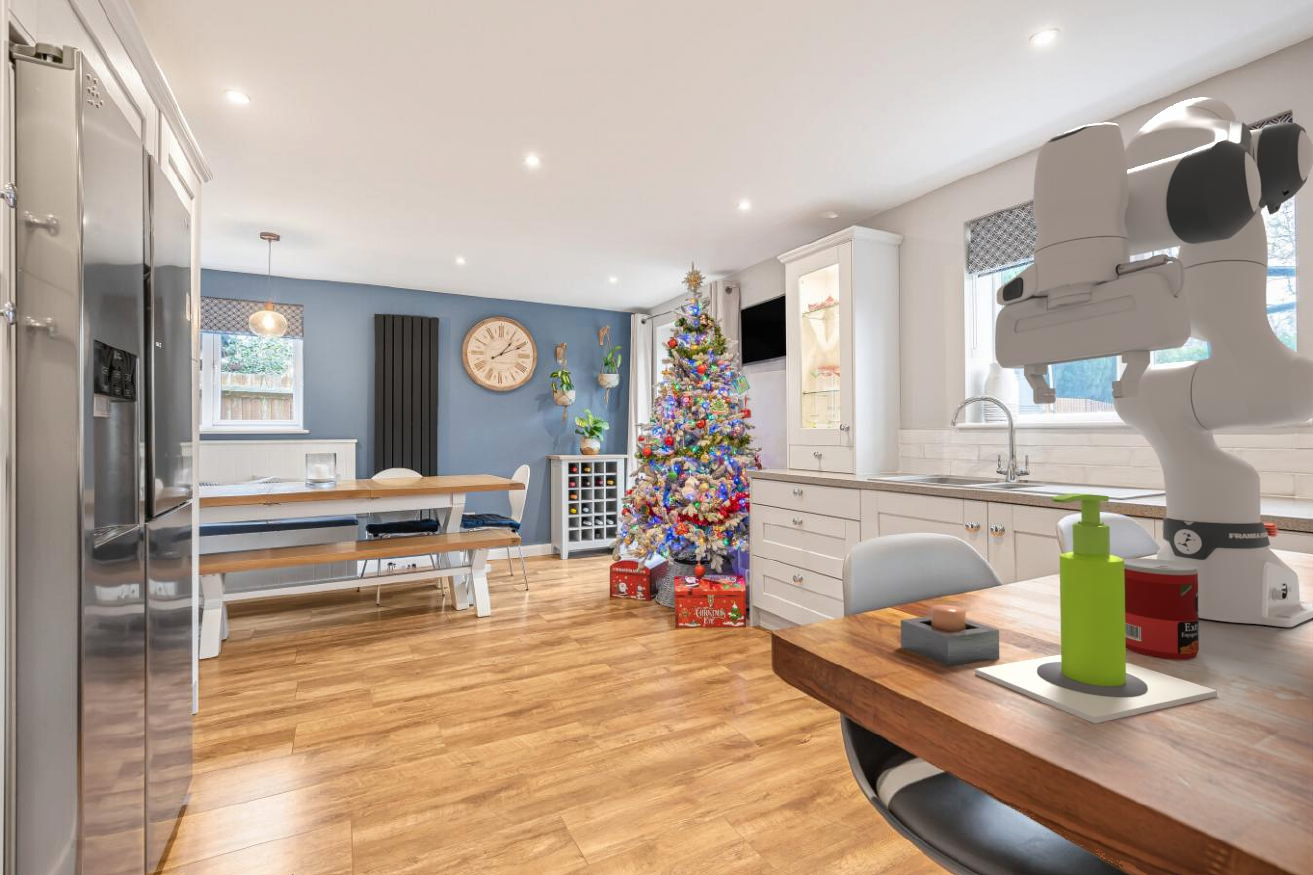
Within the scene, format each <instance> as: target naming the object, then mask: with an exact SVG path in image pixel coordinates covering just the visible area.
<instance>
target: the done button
mask: <svg viewBox="0 0 1313 875" xmlns="http://www.w3.org/2000/svg"><path fill="white" fill-rule="evenodd" d="M966 613H967V612H966V609H965V608H963V607H960V606H956V605H949V604H948V605H947V604H938V605H937V604H935V605H932V606H931V607H930V616H931V627H934V628H937V629H940V630H943V631H945V632H955V631H962V630H966V620H967V619H966V618H967V614H966Z"/></svg>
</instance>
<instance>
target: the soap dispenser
mask: <svg viewBox="0 0 1313 875" xmlns="http://www.w3.org/2000/svg"><path fill="white" fill-rule="evenodd" d="M1109 498H1110V497H1109V495H1103V494H1100V495H1099V494H1091V493H1079V492H1078V493H1064V494H1060V495H1056V496H1053V497H1051V498H1050V500H1051V501H1052V502H1054V503H1061V504H1068V503H1073V502H1079V501H1080V505H1081V506H1080V510H1081V512H1080V513H1081V514H1080V517H1081V520H1078V521H1077V522H1075V523H1073V524H1072V551H1070V552H1064V553H1060V554H1059V594H1060V595H1059V596H1060V598H1059V600H1060V601H1059V604H1060V608H1059V609H1060V655H1061V672H1062V674H1063V675H1065V676H1066V677H1068V678H1070V679H1073V680H1076V681H1079V682H1082V683H1087V684H1092V685H1098V686H1121V685H1124V684H1125V683H1126V663H1127V661H1126V660H1127V657H1126V656H1127V654H1126V651H1127V649H1126V642H1125V576H1124V559H1125V558H1123V557H1119V556H1116V555H1113V554H1111V543H1110V540H1111V537H1110V536H1111V535H1110V534H1111V533H1110V530H1111V528H1110V526H1109V525H1108V524H1105V523H1104V522H1103V521H1101V506H1100V505H1101V504H1100V503H1101V502H1109V500H1110V499H1109Z"/></svg>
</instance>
